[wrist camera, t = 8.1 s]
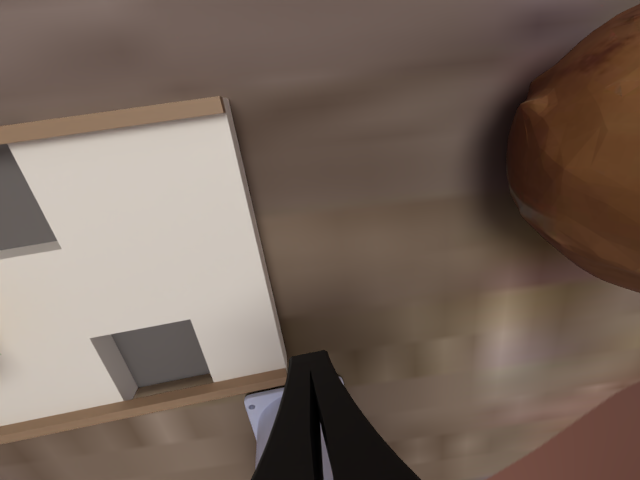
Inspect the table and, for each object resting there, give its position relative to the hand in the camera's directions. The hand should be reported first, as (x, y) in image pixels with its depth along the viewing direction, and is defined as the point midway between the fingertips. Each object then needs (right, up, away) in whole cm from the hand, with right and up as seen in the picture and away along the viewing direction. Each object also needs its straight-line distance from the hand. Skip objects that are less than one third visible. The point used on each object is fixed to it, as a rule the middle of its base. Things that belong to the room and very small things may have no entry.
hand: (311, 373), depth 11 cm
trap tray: (-14, +2, +8) cm, 16 cm away
